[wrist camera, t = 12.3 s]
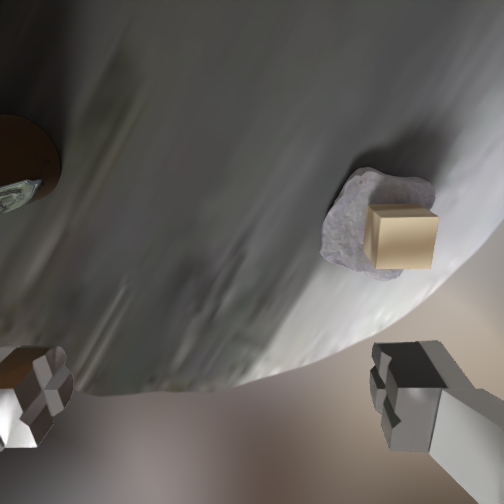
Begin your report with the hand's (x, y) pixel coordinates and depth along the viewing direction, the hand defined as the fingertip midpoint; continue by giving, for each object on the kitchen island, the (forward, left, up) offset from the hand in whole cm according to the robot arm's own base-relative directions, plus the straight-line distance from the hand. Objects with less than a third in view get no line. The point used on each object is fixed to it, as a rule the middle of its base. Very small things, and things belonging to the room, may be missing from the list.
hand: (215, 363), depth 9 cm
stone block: (+5, +12, -32) cm, 35 cm away
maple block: (+5, +14, -28) cm, 31 cm away
